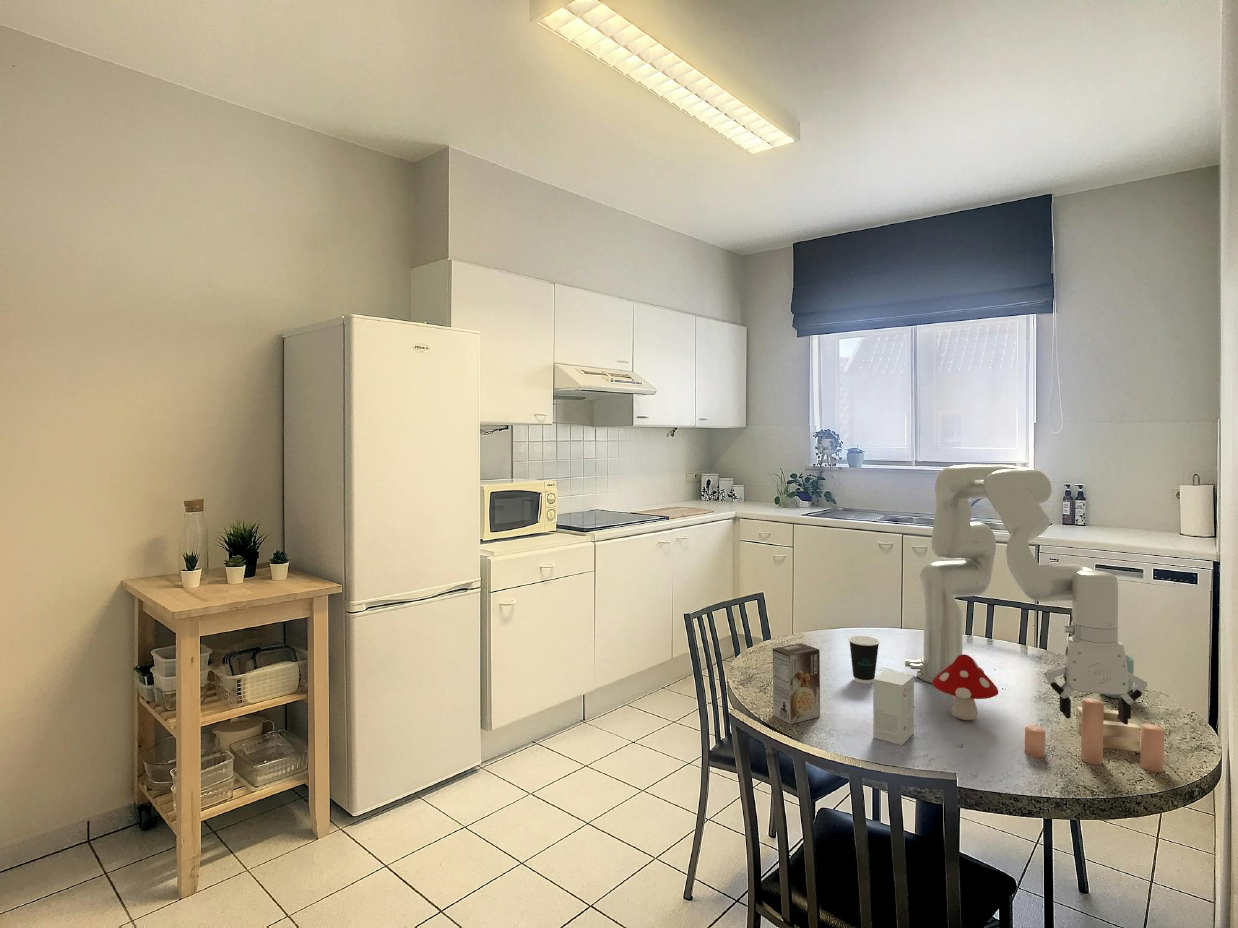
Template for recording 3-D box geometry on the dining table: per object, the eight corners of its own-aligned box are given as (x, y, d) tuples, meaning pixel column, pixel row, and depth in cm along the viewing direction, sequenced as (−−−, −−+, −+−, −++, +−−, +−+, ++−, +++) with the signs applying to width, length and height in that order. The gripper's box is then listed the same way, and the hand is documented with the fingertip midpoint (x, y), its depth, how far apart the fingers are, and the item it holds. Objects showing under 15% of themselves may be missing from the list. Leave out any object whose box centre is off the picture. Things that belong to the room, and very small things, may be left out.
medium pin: (1144, 770, 134) (1145, 730, 134) (1137, 762, 137) (1138, 722, 137) (1166, 773, 133) (1167, 732, 132) (1158, 765, 136) (1160, 725, 136)
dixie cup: (862, 687, 179) (863, 645, 179) (841, 677, 187) (842, 637, 186) (886, 682, 183) (886, 641, 182) (864, 673, 190) (865, 634, 189)
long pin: (1084, 763, 137) (1085, 703, 137) (1078, 755, 141) (1079, 697, 140) (1105, 765, 136) (1106, 705, 136) (1099, 757, 139) (1100, 699, 139)
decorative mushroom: (970, 704, 168) (971, 643, 167) (1014, 727, 154) (1015, 661, 154) (919, 709, 165) (919, 647, 164) (959, 733, 151) (959, 666, 151)
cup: (1139, 702, 168) (1140, 661, 168) (1103, 700, 170) (1104, 660, 169) (1123, 690, 176) (1123, 652, 175) (1089, 688, 177) (1089, 650, 177)
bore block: (1088, 745, 145) (1089, 722, 145) (1076, 728, 153) (1076, 706, 153) (1139, 751, 142) (1140, 727, 142) (1124, 733, 150) (1124, 711, 150)
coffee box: (801, 707, 166) (801, 642, 166) (820, 717, 161) (821, 649, 160) (771, 715, 162) (771, 647, 161) (790, 725, 156) (790, 655, 156)
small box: (885, 725, 156) (885, 668, 155) (914, 733, 152) (915, 674, 151) (872, 737, 150) (872, 678, 149) (902, 745, 145) (902, 685, 145)
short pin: (1026, 755, 141) (1027, 731, 140) (1022, 748, 144) (1023, 724, 144) (1047, 758, 139) (1047, 734, 139) (1042, 750, 143) (1043, 727, 143)
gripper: (1049, 634, 137) (1049, 720, 137) (1154, 642, 131) (1154, 731, 131) (1040, 625, 144) (1040, 707, 144) (1139, 632, 138) (1139, 717, 138)
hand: (1094, 718), depth 138 cm, fingers open, 9 cm apart
